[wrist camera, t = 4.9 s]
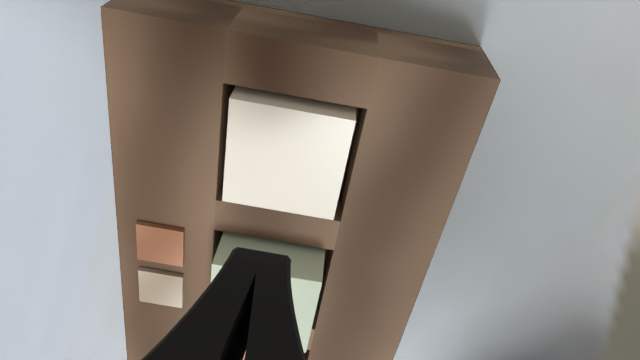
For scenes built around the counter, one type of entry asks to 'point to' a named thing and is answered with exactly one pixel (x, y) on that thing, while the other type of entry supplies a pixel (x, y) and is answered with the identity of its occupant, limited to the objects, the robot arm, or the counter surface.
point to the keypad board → (217, 216)
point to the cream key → (286, 152)
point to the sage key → (303, 272)
